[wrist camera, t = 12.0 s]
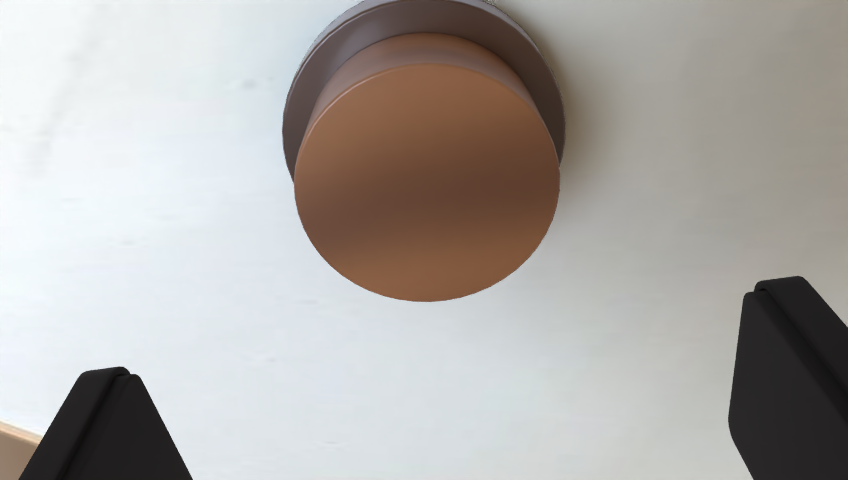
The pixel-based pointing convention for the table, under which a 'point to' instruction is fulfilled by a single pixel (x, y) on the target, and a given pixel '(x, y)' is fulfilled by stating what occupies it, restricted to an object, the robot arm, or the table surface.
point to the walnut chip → (406, 14)
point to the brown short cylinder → (426, 169)
